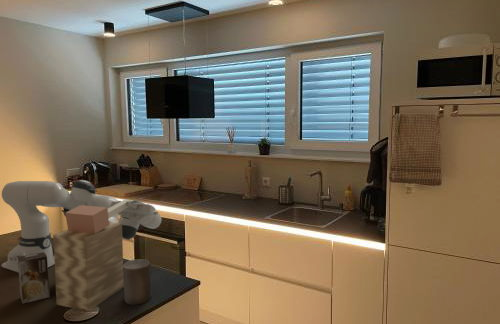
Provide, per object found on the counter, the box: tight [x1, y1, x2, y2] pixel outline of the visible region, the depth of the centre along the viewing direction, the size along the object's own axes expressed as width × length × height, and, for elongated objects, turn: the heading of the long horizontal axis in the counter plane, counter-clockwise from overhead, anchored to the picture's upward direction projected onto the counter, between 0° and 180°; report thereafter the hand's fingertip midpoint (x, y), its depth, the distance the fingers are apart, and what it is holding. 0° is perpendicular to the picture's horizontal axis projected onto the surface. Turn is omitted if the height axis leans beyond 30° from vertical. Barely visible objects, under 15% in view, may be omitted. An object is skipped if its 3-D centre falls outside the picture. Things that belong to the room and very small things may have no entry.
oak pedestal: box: [52, 222, 124, 311], centre depth 142 cm, size 14×20×26 cm
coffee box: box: [18, 252, 51, 304], centre depth 140 cm, size 9×6×16 cm
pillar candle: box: [123, 258, 152, 306], centre depth 140 cm, size 10×10×15 cm
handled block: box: [64, 199, 132, 234], centre depth 148 cm, size 12×28×7 cm, turn 163°
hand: (123, 202), depth 159 cm, fingers closed on handled block, 3 cm apart
